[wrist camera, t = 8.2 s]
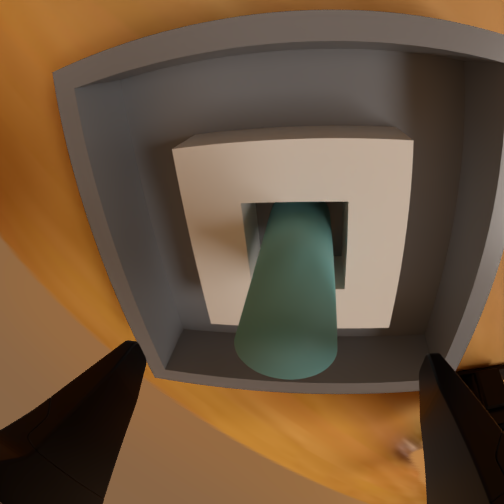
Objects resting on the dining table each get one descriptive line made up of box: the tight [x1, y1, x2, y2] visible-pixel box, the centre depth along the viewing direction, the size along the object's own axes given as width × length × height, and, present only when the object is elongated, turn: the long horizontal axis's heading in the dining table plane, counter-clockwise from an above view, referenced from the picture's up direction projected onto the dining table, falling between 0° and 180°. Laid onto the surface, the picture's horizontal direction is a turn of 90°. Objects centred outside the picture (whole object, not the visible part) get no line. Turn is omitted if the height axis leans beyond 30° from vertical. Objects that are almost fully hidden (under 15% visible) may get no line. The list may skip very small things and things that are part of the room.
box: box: [52, 10, 504, 394], centre depth 16 cm, size 20×20×5 cm
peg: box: [234, 202, 337, 380], centre depth 13 cm, size 3×3×9 cm
